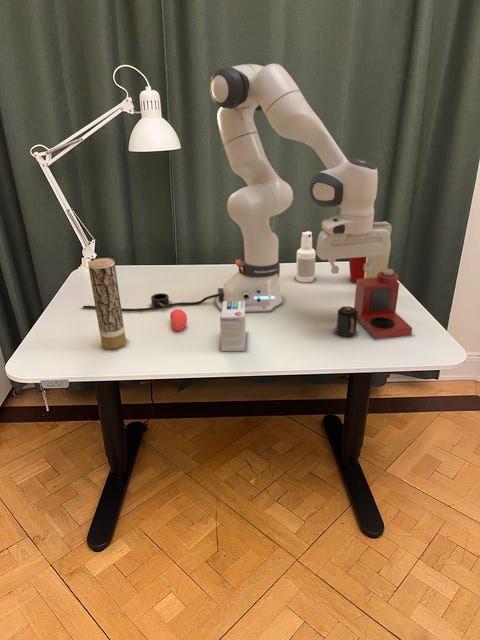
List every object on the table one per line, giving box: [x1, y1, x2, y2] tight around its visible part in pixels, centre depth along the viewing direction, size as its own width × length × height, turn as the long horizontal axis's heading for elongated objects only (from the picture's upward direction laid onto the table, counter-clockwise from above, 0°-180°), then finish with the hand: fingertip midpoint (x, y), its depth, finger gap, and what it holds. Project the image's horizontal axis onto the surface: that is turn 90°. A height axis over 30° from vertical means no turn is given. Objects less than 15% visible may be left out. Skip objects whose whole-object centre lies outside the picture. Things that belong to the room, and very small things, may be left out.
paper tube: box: [87, 257, 127, 350], centre depth 134 cm, size 7×7×25 cm
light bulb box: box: [219, 301, 246, 352], centre depth 136 cm, size 11×7×11 cm, turn 178°
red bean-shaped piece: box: [169, 308, 188, 331], centre depth 148 cm, size 5×9×6 cm
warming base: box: [360, 288, 413, 340], centre depth 142 cm, size 11×10×11 cm
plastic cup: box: [348, 257, 366, 284], centre depth 176 cm, size 11×11×12 cm
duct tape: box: [150, 292, 170, 308], centre depth 162 cm, size 8×10×3 cm
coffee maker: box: [353, 271, 400, 324], centre depth 148 cm, size 12×6×14 cm, turn 100°
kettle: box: [335, 306, 358, 338], centre depth 140 cm, size 6×9×8 cm, turn 10°
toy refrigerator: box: [364, 239, 392, 278], centre depth 160 cm, size 8×7×21 cm
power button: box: [383, 268, 395, 277], centre depth 145 cm, size 3×3×2 cm
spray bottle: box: [295, 230, 317, 283], centre depth 177 cm, size 7×7×18 cm
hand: (350, 271), depth 135 cm, fingers open, 8 cm apart
